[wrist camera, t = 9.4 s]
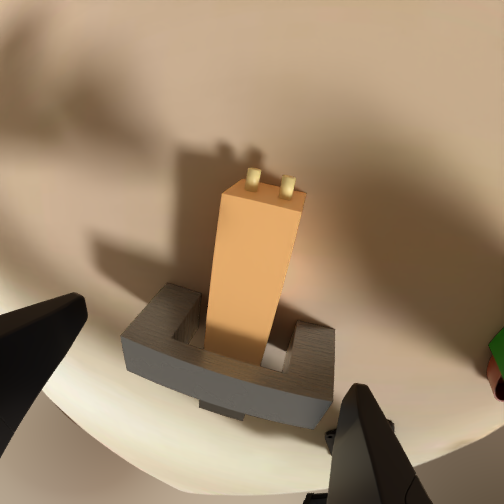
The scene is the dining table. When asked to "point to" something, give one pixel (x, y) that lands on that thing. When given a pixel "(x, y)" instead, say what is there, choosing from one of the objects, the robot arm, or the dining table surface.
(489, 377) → the green tall cylinder
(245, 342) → the plug
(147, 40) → the dining table surface
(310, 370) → the housing
